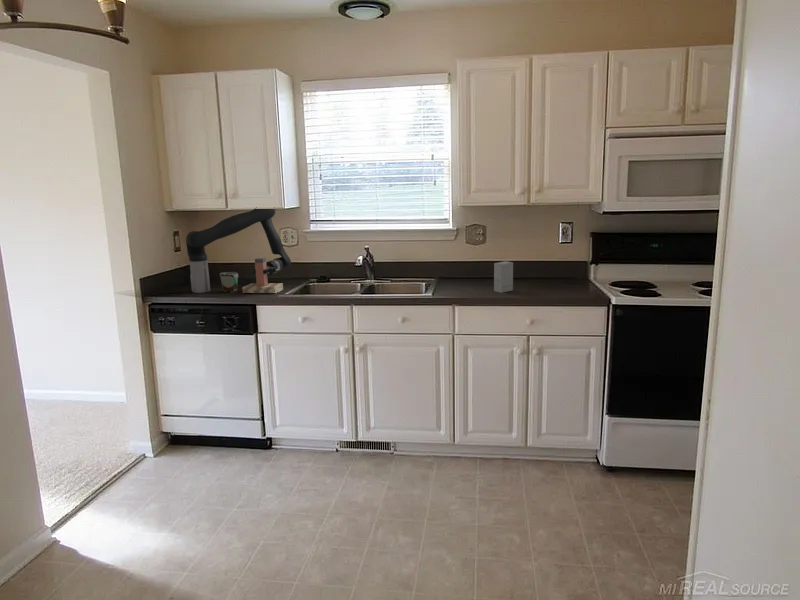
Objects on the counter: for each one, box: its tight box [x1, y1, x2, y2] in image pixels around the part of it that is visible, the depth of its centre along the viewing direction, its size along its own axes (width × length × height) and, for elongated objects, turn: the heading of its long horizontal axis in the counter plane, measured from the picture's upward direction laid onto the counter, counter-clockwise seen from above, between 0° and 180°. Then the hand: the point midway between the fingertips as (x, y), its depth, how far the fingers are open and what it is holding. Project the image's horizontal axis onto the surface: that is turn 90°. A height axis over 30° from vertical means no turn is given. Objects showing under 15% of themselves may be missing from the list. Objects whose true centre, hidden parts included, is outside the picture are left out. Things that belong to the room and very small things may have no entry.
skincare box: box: [493, 260, 514, 294], centre depth 285 cm, size 8×6×15 cm
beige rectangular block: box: [242, 282, 284, 294], centre depth 304 cm, size 18×12×4 cm, turn 81°
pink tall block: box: [254, 257, 269, 286], centre depth 302 cm, size 4×4×17 cm
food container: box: [219, 271, 239, 293], centre depth 309 cm, size 12×6×10 cm, turn 56°
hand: (259, 272), depth 299 cm, fingers closed on pink tall block, 4 cm apart
